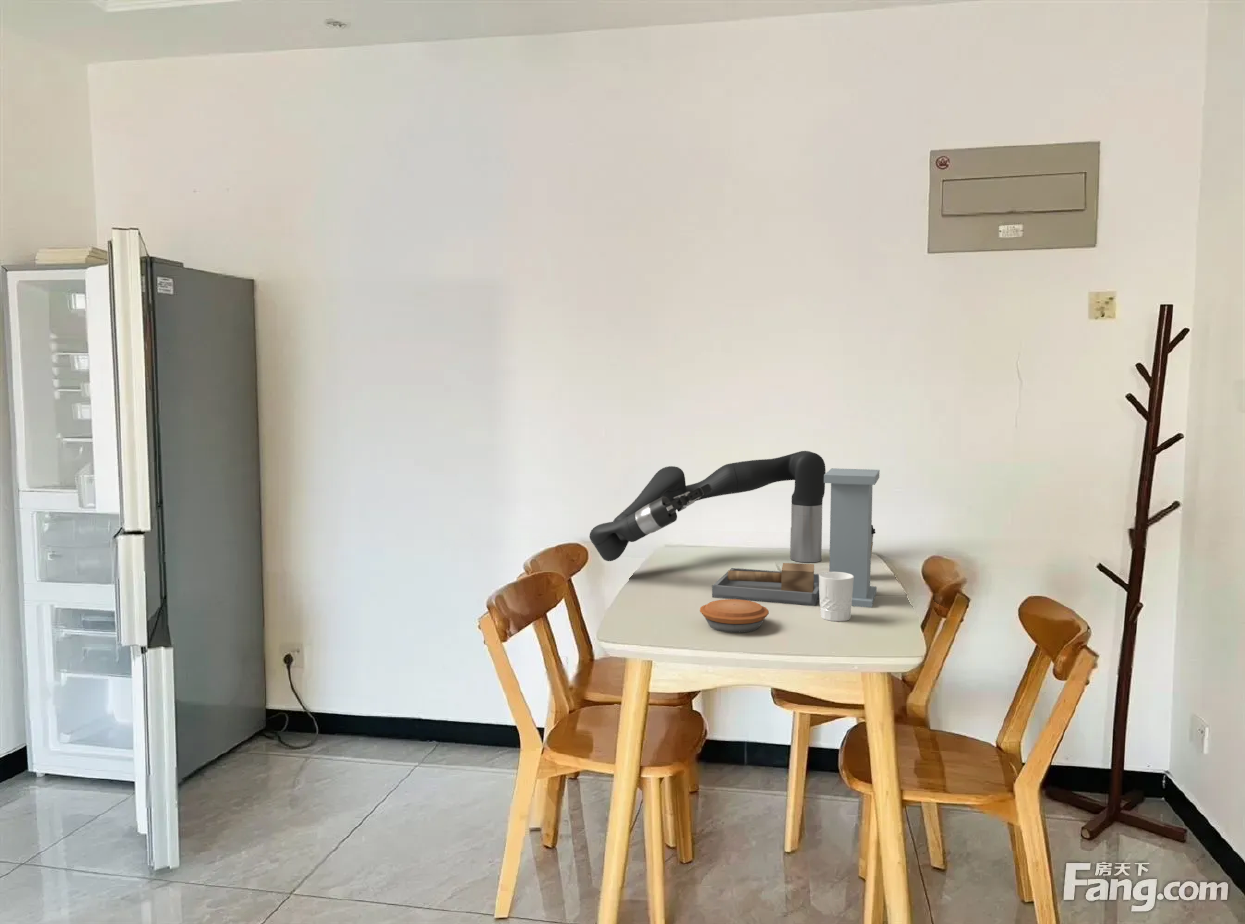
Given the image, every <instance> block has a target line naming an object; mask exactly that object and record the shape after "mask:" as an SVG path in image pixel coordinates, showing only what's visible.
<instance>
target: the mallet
mask: <svg viewBox="0 0 1245 924" xmlns="http://www.w3.org/2000/svg"><path fill="white" fill-rule="evenodd" d="M781 571H782V572H781V573H775V572H753V571H731V570H730V569H729V570H728V571H727V572H728V580H732V581H753V582H773V583H781V590H784V591H797V592H810V593H812V592H813V591H814V574H815V563H797V562H794V563H792V562H782V567H781Z"/></svg>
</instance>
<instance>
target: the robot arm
mask: <svg viewBox="0 0 1245 924" xmlns="http://www.w3.org/2000/svg"><path fill="white" fill-rule="evenodd" d="M824 460H825V459H823V457H822V456H821V455H819V454H818V453H816V452H812V451H809V450H800V451H797V452H794V453H791V454H786V455H782V456H779V457H775V458H768V459H767V458H764V459H753V460H752V459H751V460H744V461H738V462H732V463H731V462H730V463H726V464H724V465H722V466H721V467H719V468H717V469H716V470H714V471H713V472H712V473H711V474H709V475H708V476H707V477H706V478H704V479H703V480H700V481H698V482H696V483H692V484H688V485H686V477H685V475H686V474H685V472H684V471H683V469H682V468H680V467H679V466H675V465H674V466H672V465H670V466H665V467H662V468H660V469H659V470H658V471H657V472H656V473H655V474H654V475H653V476H652V478H651V479H650V481H648V483H647V484H646V485H645V487H644V488H643V489H642V491H641V492H640V493H639V495H638V496H637V497H636V498H635V500H633V502H632V503H630V505H628V506H627V507H626V508H625V509H624V510H623V511H621V512H620V513H619V514H618V515H617V516H616V517H614V519H613V521H609V522H604V523H600V524H598V525H595V526H594V527H593V528H592V529H591V530H590V532H589V540H590V541H591V543H592V545H593V546H594V548H595V549H596V551H597V552H598V554H599V555H600V557H601V559H603V561H606V562H613V561H616V560H618V558H620V557H621V556H622V554H624V552H625V550H626V548H627V546H628V544H629V543H634V542H636V541H639V540H640V539H642V538H645V537H646V536H648V535H650V534H653V533H655V532H657V531H659V530H661V529H663V528H665V527H668V526H669V525H671V524H673V523H675V522H676V521H677V519H678V514H677V512H678V513H679V512H681V511H683V510H685V509H687V507H689V506H691V505H692V504H695V502H697V501H701V500H705V499H709V498H715V497H720V496H725V495H733V494H740V493H744V492H751V491H755V490H757V489H760V488H761V489H762V488H763V487H766V486H768V485H770V484H773V483H777V482H778V483H779V482H785V481H786V482H787V481H794V490H793V492H792V494H791V511H790V513H791V518H790V519H791V520H790V521H791V523H790V544H789V545H790V547H789V548H790V551H789V552H790V553H789V554H790V559H791V561H794V562H797V563H798V562H799V563H816V562H817V563H818V562H820V561H822V551H823V549H822V548H823V547H822V545H823V542H822V541H823V499H824V496H825V489H826V483H824V474H826V473H827V471H826V463H825V461H824Z"/></svg>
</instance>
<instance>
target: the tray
mask: <svg viewBox="0 0 1245 924" xmlns="http://www.w3.org/2000/svg"><path fill="white" fill-rule="evenodd" d="M729 570H731V571H753V572H775V573H781V572H782V570H781V571H780V570H779V571H778V570H766V569H764V570H763V569H752V568H739V567H731V568H730V569H729ZM819 574H820V573H814V591H813V592H812V593H810V592H797V591H784V590H781V583H773V582H753V581H732V580H728V571H727V572H725V573H724V574H723V575H722V576H721V577H720V578H719V579H718V580H717V581H715V583H714V584H712V585H711V597H712V598H715V599H716V598H718V599H738V600H747V601H752V602H762V603H763V602H765V603H774V604H786V605H787V604H788V605H799V606H800V605H801V606H813V607H816V606H817V604H818V603H819V602H820V597H819Z"/></svg>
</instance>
